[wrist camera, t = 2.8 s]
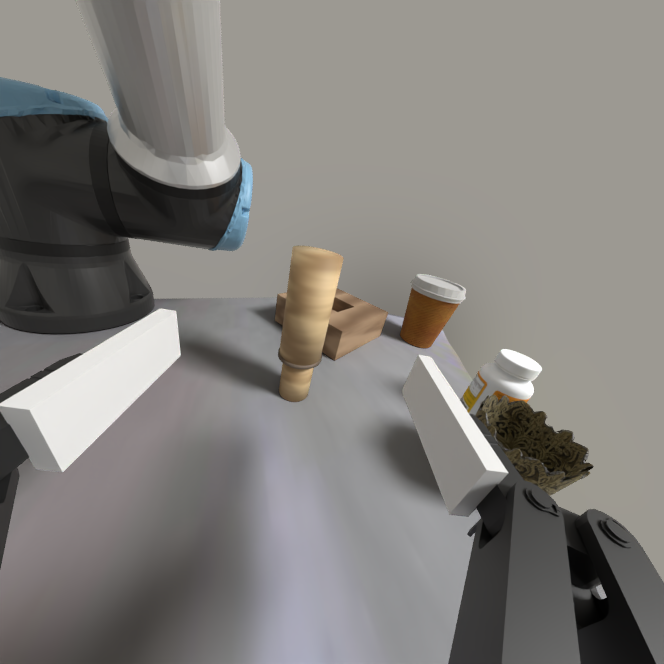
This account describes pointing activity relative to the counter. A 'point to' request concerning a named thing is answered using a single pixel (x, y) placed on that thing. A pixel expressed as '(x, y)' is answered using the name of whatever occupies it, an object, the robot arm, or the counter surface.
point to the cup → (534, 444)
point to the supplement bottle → (502, 380)
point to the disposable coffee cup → (429, 309)
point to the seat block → (345, 323)
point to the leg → (306, 317)
